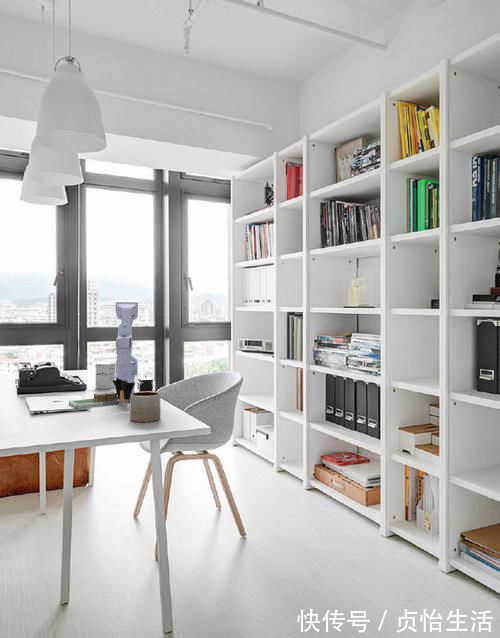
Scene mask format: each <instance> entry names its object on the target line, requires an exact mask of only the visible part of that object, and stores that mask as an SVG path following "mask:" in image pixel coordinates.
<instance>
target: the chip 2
mask: <svg viewBox="0 0 500 638" xmlns="http://www.w3.org/2000/svg"><path fill="white" fill-rule="evenodd" d="M104 393H105V394H107V397H106V401H109V400H117V393H116V391H115V392H114V391H109V392H104Z"/></svg>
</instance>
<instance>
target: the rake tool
mask: <svg viewBox="0 0 500 638" xmlns="http://www.w3.org/2000/svg"><path fill="white" fill-rule="evenodd" d="M118 405H120V406H122V407H125V406H129V403H128V402H127V400H125V399H124V393H123V390H122V391H120V401H119V404H118Z"/></svg>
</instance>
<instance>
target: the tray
mask: <svg viewBox="0 0 500 638" xmlns="http://www.w3.org/2000/svg"><path fill="white" fill-rule="evenodd" d="M68 405H70V406H71V407H73V408H75V409H76V408H77V409H84V408H93V407H94V408H95V407H103V402H98V403H94V397H93V398H84V399H75V400H74V399H73V400H68Z"/></svg>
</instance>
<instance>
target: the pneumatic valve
mask: <svg viewBox="0 0 500 638" xmlns="http://www.w3.org/2000/svg"><path fill="white" fill-rule="evenodd" d="M136 382H137V385H136V386H137V388H136V389H137V390H138V392H144V391H150V392H154V379H153V378H152V377H151V376H147V375H144V376H138V378H137V381H136Z"/></svg>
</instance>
